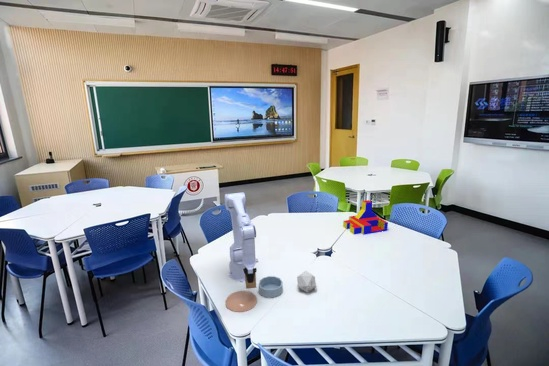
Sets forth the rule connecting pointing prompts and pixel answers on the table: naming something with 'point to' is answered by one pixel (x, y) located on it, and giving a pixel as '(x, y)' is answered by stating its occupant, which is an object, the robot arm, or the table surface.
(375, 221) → the building blocks toy
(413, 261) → the table surface
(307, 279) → the die
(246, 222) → the robot arm
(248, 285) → the walnut block
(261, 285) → the bowl
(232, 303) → the peach round plate
